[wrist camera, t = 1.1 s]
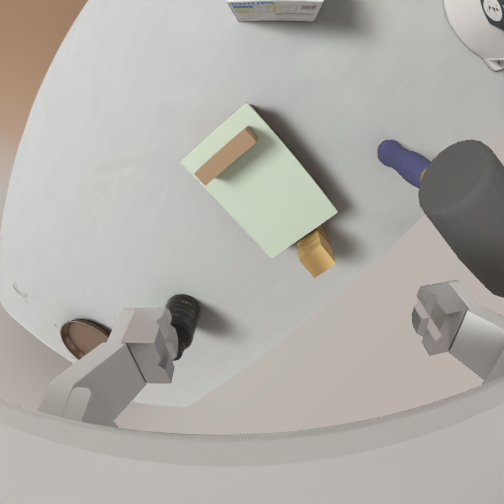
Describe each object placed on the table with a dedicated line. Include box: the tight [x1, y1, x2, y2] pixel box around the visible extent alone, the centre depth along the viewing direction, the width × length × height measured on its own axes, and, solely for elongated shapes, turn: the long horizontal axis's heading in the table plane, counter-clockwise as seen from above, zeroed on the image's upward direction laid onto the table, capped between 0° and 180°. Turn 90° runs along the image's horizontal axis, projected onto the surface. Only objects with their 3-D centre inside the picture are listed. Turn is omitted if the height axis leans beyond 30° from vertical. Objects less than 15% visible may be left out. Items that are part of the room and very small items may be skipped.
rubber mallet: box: [378, 140, 504, 297], centre depth 27 cm, size 12×8×30 cm, turn 55°
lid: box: [180, 102, 338, 259], centre depth 38 cm, size 12×19×5 cm, turn 41°
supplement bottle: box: [165, 295, 200, 361], centre depth 53 cm, size 7×7×12 cm
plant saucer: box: [60, 320, 110, 360], centre depth 66 cm, size 18×18×3 cm
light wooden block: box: [297, 225, 336, 278], centre depth 44 cm, size 4×4×9 cm
